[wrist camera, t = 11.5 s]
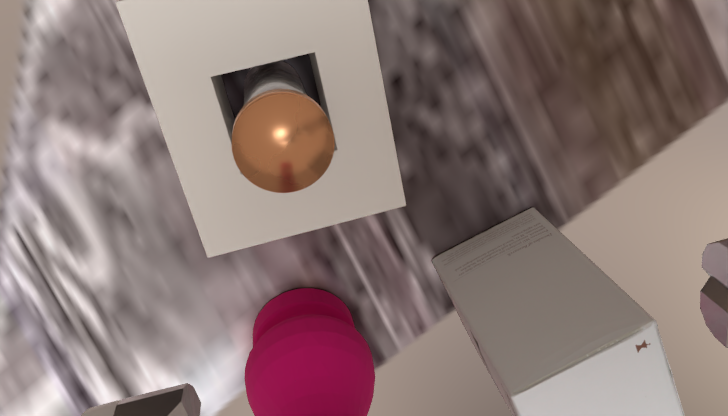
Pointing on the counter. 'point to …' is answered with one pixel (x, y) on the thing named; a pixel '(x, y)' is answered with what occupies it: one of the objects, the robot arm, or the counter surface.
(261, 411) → the pepper mill
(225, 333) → the counter surface
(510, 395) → the supplement box
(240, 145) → the pin
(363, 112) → the dock
